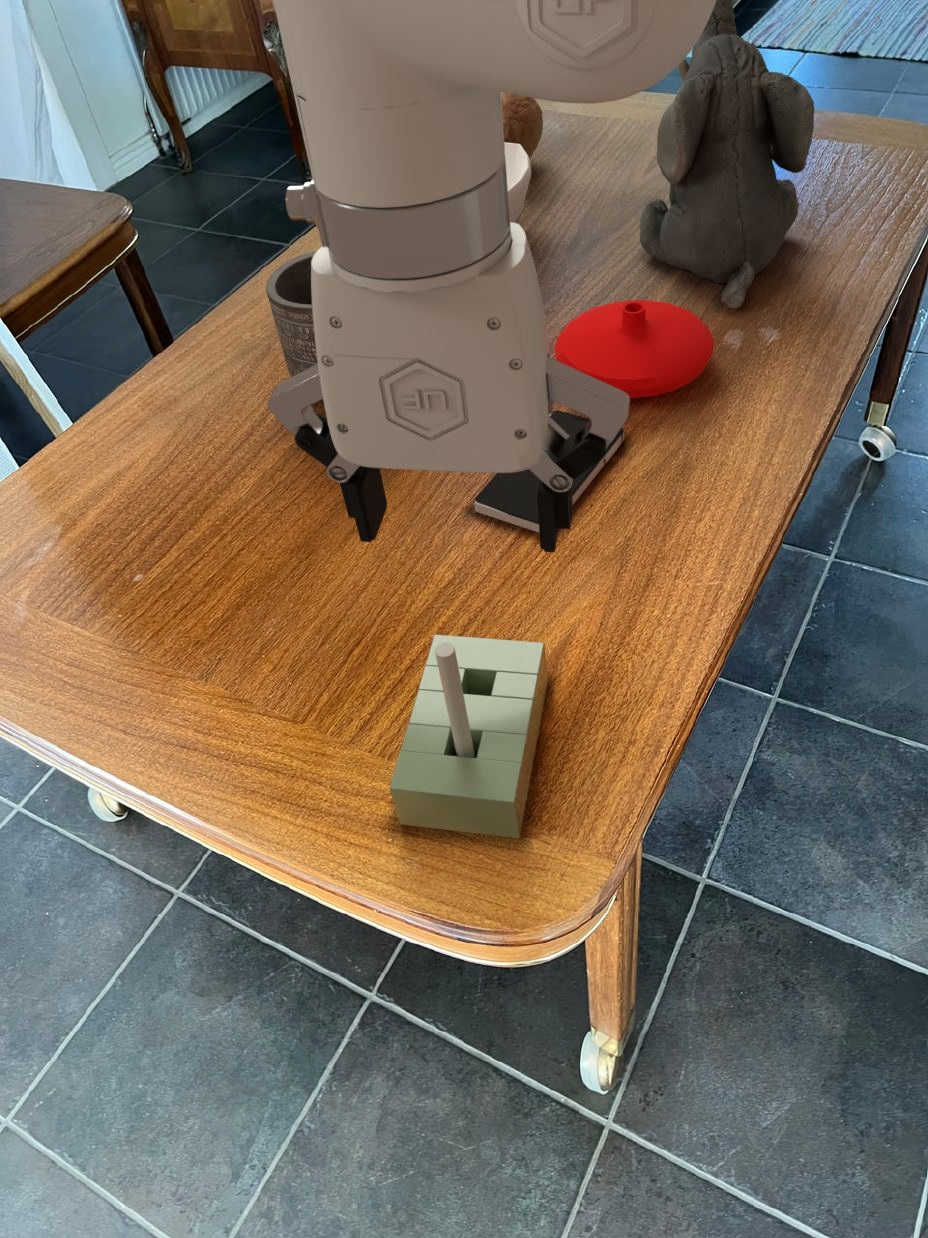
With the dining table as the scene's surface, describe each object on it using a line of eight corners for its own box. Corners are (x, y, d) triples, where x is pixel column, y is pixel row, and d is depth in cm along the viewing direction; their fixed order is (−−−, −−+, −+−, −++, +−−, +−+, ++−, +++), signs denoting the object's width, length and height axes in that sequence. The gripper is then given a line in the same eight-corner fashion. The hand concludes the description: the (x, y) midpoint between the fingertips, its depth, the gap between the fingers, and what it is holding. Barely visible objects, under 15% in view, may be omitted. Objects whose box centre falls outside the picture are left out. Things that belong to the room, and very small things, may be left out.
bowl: (382, 284, 117) (367, 207, 110) (411, 216, 129) (399, 143, 122) (527, 279, 113) (521, 200, 107) (543, 210, 125) (539, 135, 118)
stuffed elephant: (692, 200, 122) (706, -52, 103) (839, 244, 111) (887, -30, 91) (590, 262, 115) (584, 2, 95) (737, 316, 103) (765, 33, 83)
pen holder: (442, 672, 74) (434, 633, 71) (548, 681, 72) (544, 642, 69) (400, 824, 65) (388, 788, 62) (519, 839, 64) (514, 802, 60)
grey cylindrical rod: (480, 774, 67) (456, 642, 57) (477, 788, 67) (452, 657, 56) (464, 772, 68) (437, 641, 57) (460, 786, 67) (432, 656, 57)
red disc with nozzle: (604, 316, 106) (603, 255, 101) (738, 349, 99) (745, 285, 94) (526, 390, 98) (521, 328, 93) (665, 433, 91) (668, 368, 86)
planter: (393, 345, 107) (371, 234, 98) (424, 402, 99) (404, 286, 90) (287, 375, 105) (255, 264, 96) (309, 435, 97) (277, 321, 88)
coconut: (464, 191, 132) (456, 114, 125) (490, 152, 140) (483, 78, 132) (532, 192, 129) (527, 114, 122) (554, 153, 137) (550, 77, 130)
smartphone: (470, 501, 86) (552, 408, 94) (471, 511, 87) (553, 418, 94) (549, 527, 82) (627, 428, 90) (550, 537, 83) (627, 438, 91)
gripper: (182, 260, 38) (287, 569, 50) (625, 257, 34) (619, 590, 47) (246, 177, 43) (327, 477, 55) (640, 166, 39) (631, 490, 52)
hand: (461, 529), depth 51 cm, fingers open, 9 cm apart
